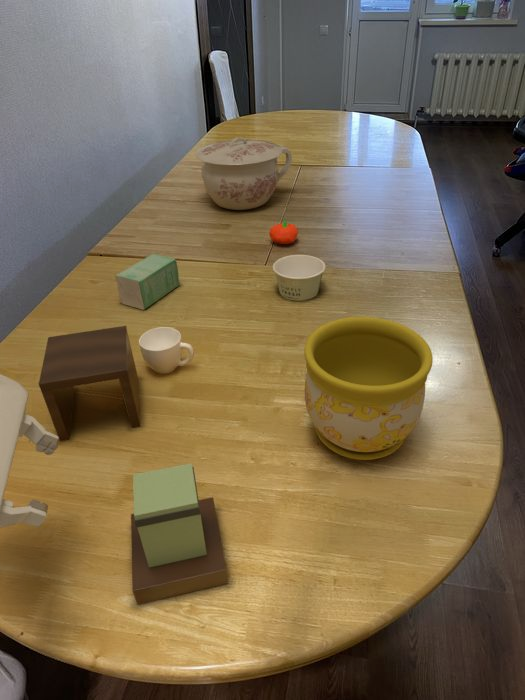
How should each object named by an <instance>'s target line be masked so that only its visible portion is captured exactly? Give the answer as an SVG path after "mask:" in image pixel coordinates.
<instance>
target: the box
mask: <svg viewBox="0 0 525 700" xmlns="http://www.w3.org/2000/svg"><path fill="white" fill-rule="evenodd" d="M177 263H178V262H177V260H176V258H174V257H170V256H166V255H161V254H157V253H153V254H150V255H148V256H146V257H145V258H143V259H141V260H140V261H138V262H136V263H134V264H132V265H131V266H129V267H128V268H126V269H124V270H123V271H121V272H119V273H117V274H115V280H116V284H117V285H116V286H117V290H118V294H119V300H120V303H121V304H123V305H125V306H127V307H128V306H129V307H131V308H134V309H137V310H142V311H143V310H146V309H148V308H149V307H150V306H152V305H153V304H155V303H156V302H158V301H159V300H161V299H162V298H163V297H165V296H166V295H167V294H170V292H172V291H173V290H176V288H177V287H179V286H180V279H179V269H178V264H177Z"/></svg>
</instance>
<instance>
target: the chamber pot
mask: <svg viewBox="0 0 525 700" xmlns="http://www.w3.org/2000/svg"><path fill="white" fill-rule="evenodd" d="M282 154H285V158H286V159H285V162H284V163H285V164H284V165H283V167H282V168H281V169H280V171H279V164H278V157H280V156H281V155H282ZM194 156H195V158H196V159H197V160H198V161H200V162H202V163H203V164H202V166H201V168H200V169H201V178H202V181H203V184H204V188H205V190H206V193H207V194H208V195H209V197H210V198H211V200H212V201H213V202H214V203H215V204H216V205H217V206H219V207H220V208H223V209H225V210H230V211H248V210H249V211H250V210H253V209H256V208H259V207H262V206H264V205H265V204H267V203H268V201H269V200H270V199H271V197H272V195H273V193H274V192H275V190H276V187H277V184H278V182H279V181H280V180H282V178H283V177H284V176H285V175H286V174H287V173H288V171H289V169H290V168H291V166H292V162H293V158H292V152H291V151H290V149H289V148H288V147H287V146H285V145H279V144H276V143H274V142H270V141H265V140H260V139H246V138H245V137H235V138H232V139H231V140H222V141H218V142H217V141H216V142H214V143H210V144H207V145H204V146H202V147H200V148H198V149H197V151H196V152H195V154H194Z"/></svg>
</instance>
